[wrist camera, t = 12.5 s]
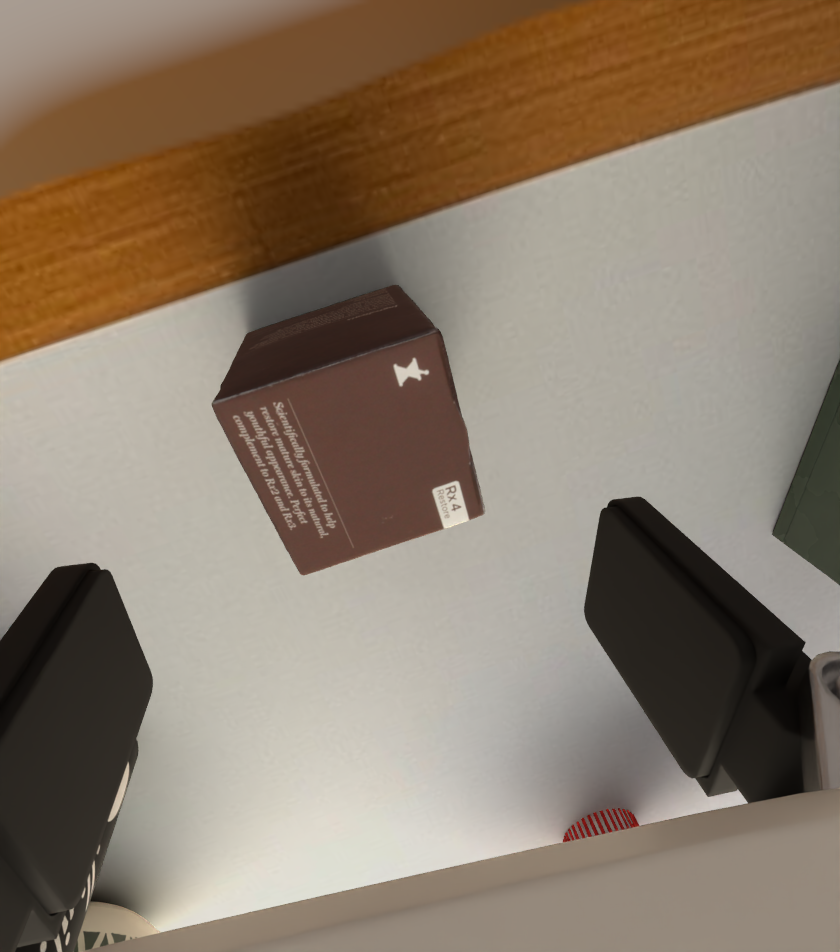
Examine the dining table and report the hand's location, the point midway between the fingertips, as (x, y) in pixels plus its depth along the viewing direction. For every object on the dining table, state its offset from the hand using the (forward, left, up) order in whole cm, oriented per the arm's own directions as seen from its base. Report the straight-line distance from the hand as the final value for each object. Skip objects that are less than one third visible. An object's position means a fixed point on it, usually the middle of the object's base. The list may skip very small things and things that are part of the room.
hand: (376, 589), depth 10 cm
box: (0, 0, -12) cm, 12 cm away
